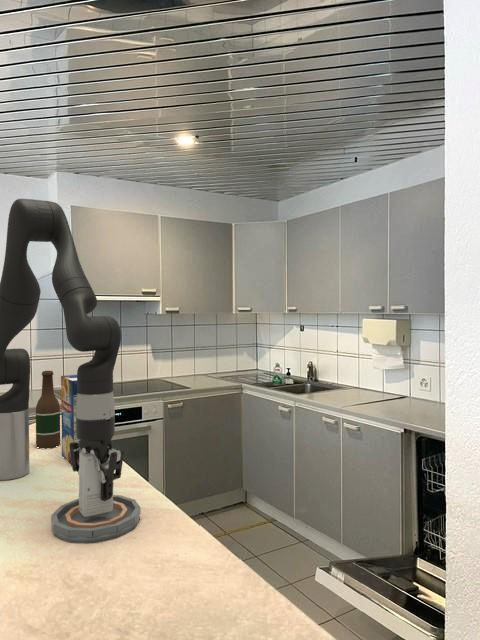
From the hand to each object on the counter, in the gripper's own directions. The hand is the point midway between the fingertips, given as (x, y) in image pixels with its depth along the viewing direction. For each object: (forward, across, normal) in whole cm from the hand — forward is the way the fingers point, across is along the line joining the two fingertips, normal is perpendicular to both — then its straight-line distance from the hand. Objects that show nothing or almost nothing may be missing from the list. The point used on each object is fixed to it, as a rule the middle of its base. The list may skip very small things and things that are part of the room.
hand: (96, 495), depth 98 cm
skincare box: (+3, 0, 0) cm, 3 cm away
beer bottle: (+6, -57, +29) cm, 64 cm away
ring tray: (+5, 0, 0) cm, 5 cm away
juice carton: (+6, -37, +26) cm, 45 cm away
